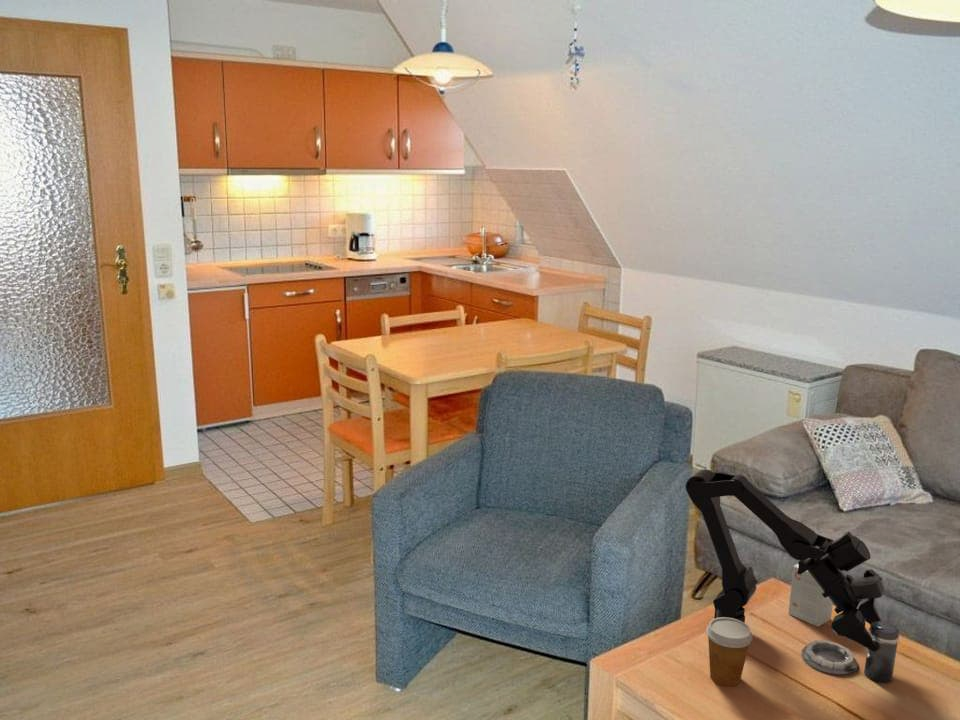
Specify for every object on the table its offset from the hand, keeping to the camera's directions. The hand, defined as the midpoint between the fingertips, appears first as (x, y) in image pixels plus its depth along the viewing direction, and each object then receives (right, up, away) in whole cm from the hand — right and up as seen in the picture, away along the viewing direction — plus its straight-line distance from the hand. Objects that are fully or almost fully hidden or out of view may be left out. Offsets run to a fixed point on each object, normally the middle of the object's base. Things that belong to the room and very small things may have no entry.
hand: (880, 641), depth 182 cm
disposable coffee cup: (-34, -8, 0) cm, 35 cm away
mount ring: (-8, -7, +7) cm, 13 cm away
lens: (0, -8, +2) cm, 8 cm away
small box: (-5, -3, +26) cm, 26 cm away
